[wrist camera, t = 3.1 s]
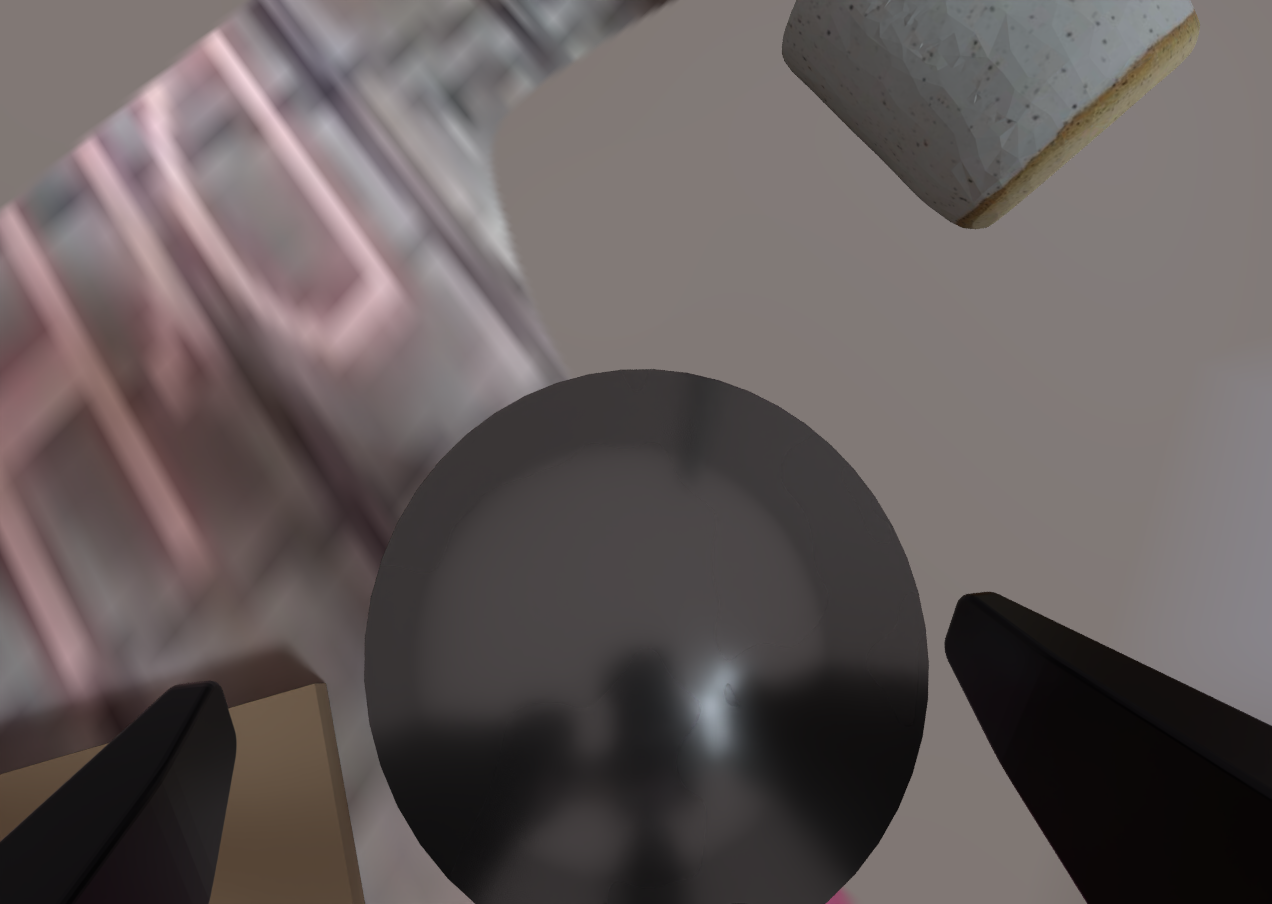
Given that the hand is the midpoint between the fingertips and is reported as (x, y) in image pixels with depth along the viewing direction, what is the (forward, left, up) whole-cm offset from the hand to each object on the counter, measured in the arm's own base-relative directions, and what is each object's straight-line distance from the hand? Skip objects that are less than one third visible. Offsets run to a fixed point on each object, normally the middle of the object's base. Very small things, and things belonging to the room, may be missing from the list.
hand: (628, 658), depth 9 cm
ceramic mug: (+14, -16, -8) cm, 22 cm away
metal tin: (0, 0, -8) cm, 8 cm away
